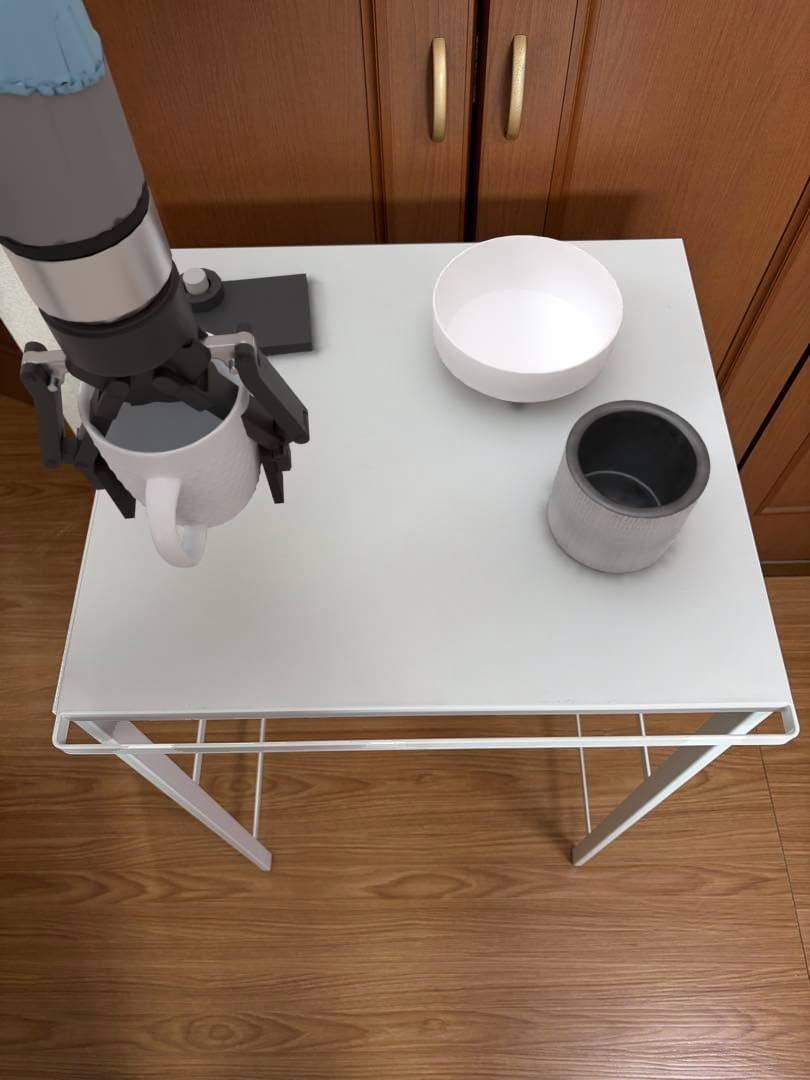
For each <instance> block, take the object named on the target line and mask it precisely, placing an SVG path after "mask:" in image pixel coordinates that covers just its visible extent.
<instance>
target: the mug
mask: <svg viewBox="0 0 810 1080" xmlns="http://www.w3.org/2000/svg"><path fill="white" fill-rule="evenodd" d="M206 333H207V334H208V335H209V336H215V335H213V334H210V333H208V332H206ZM211 361H212V362H213V363H214V364H215V366H216V368H217V370H218V372H219V373H220V374H222V375H223V376H225V377H226V378H228V379H229V380H230V381H232V382H233V383H235V384H236V385H238V386H239V390H238V395H237V399H236V402H235V404H234V406H233V408H232V410H231V412H230V413H229V415H228V416H227V417H226V419H225V420H224V421H223V420H221V419H219V418H218V417H216V416H215V415H213V414H212V413H210V412H208V411H207V410H204V411H202V412H199V411H197V410H195V409H194V408H192V407H190V406H189V405H187V404H186V403H184V402H182V401H181V402H172V403H165V402H153V403H149V404H146V405H140V406H131V404H130V403H126V402H123V404H122V406H121V409H120V411H119V413H118V415H117V417H116V419H115V420H113V421H112V423H111V426H110V428H109V430H108V432H107V435H106V437H104V436H103V435H102V434H101V433H100V432H99V431H98V430H97V429H96V428H95V427H94V426H93V425H92V424H91V423H90V401H91V398H92V395H93V393H94V390H95V388H94V387H92V386H90V385H88V384H87V383H85V382H83V381H81V380H80V384H79V387H78V391H77V392H78V393H77V410H78V415H79V417H80V418H79V419H80V420H81V423H82V422H83V424H84V426H85V428H86V430H87V431H88V433H89V435H90V436H91V438H92V440H93V442H94V445H95V446H96V447H97V448H98V449H99V451H100V454H101V456H102V457H103V458H104V459H105V460H106V462H107V464H108V466H109V468H110V469H111V470H112V471H113V472H114V473H115V475H116V477H117V479H118V480H119V481H121V483H122V484H123V485H124V487H125V488H126V489H127V490H128V491H129V492H130V493H131V494H132V496H133V497H134V498H135V499H136V501H138V502H139V503H140V505H142V506H143V507H145V510H146V511H145V513H146V518H147V519H146V520H147V524H148V525H147V526H148V530H149V533H150V536H151V540H152V543H153V545H154V547H155V549H156V551H157V554H159V556H160V558H161V559H162V560H163V561H164V562H165V563H167V564H168V565H170V566H172V567H175V568H181V569H189V568H193V567H195V566H198V565H199V564H200V562H201V561H202V559H203V556H204V554H205V550H206V545H207V539H208V531H209V528H215V527H218V526H221V525H223V524H225V523H227V522H229V521H231V520H233V519H234V518H235V517H237V516H238V515H239V514H240V513H241V512H242V511H243V510H244V509H245V508H246V507H247V505H248V504H249V502H250V501H251V499H252V498H253V496H254V493H255V492H256V491H257V486H258V483H259V482H260V475H261V474H262V471H261V467H262V466H263V465H262V462H261V459H260V444H259V443H257V442H256V441H254V440H253V439H251V438H249V437H248V436H247V434H246V430H245V428H244V425H243V422H242V419H241V415H242V414H243V413H244V412H245V411H246V409H247V407H248V404H249V394H251V393H250V392H249V390H248V389H247V388H246V387H245V386H244V384H243V383H242V381H241V379H240V377H239V374H236V375H233V374H231V373H230V372H229V368H228V367H227V366H226V365H225V364H224V362H222V361H221V360H219V359H211ZM251 395H252V394H251ZM177 526H180V527H183V532H182V533H183V534H182V541H181V538H180V535H179V532H178V527H177Z"/></svg>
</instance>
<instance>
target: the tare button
mask: <svg viewBox="0 0 810 1080" xmlns="http://www.w3.org/2000/svg"><path fill="white" fill-rule="evenodd" d="M200 268H201V267H191V268H188V269H187V270H185V271H184V272H185V273H184V272H183V273H184V274H183V280H184V283H185V286H186V289H187V291H188V292H189V293H190V294H193V295H198V294H202V293H204V292H206V291H207V290H208V288H209V283H208V280H207V277H206V274H205V272H204V271H203V270H202V269H200Z"/></svg>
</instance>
